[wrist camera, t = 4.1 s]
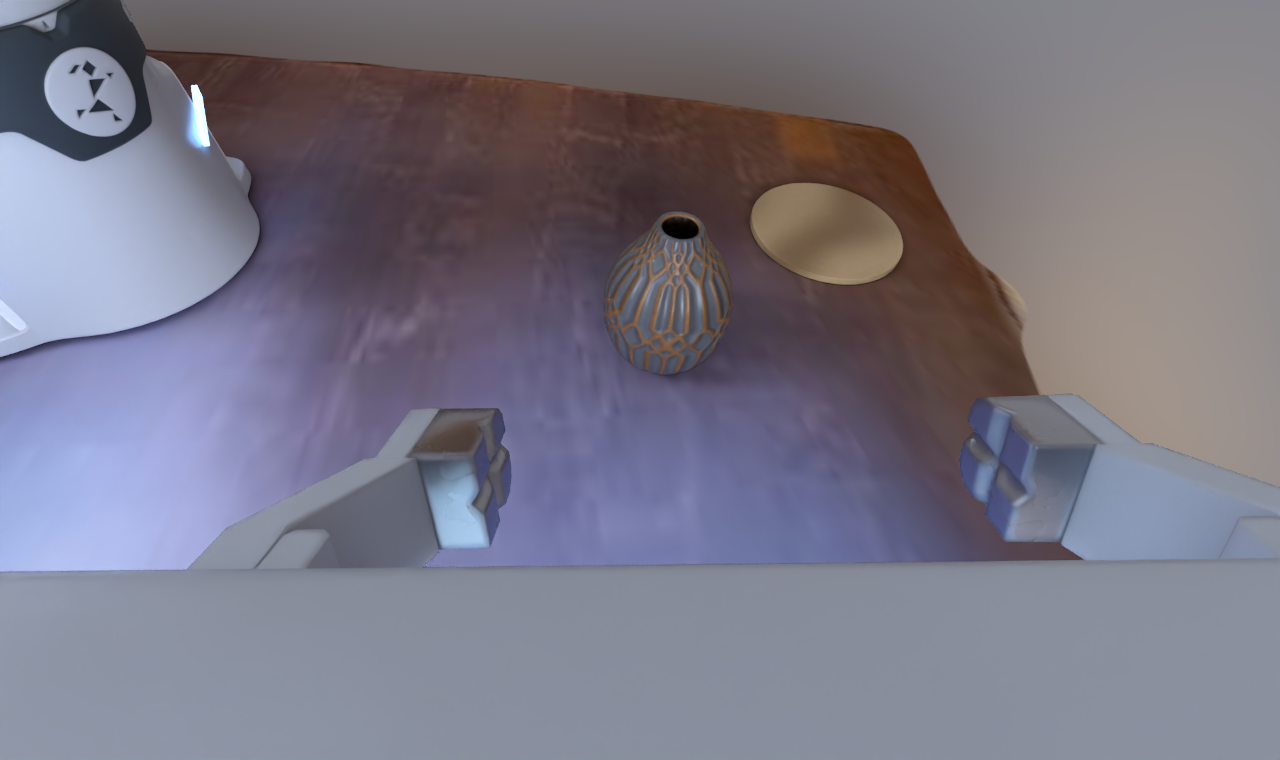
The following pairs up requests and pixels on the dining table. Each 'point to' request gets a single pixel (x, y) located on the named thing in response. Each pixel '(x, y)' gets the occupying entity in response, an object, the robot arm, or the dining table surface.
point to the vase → (668, 296)
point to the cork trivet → (826, 233)
